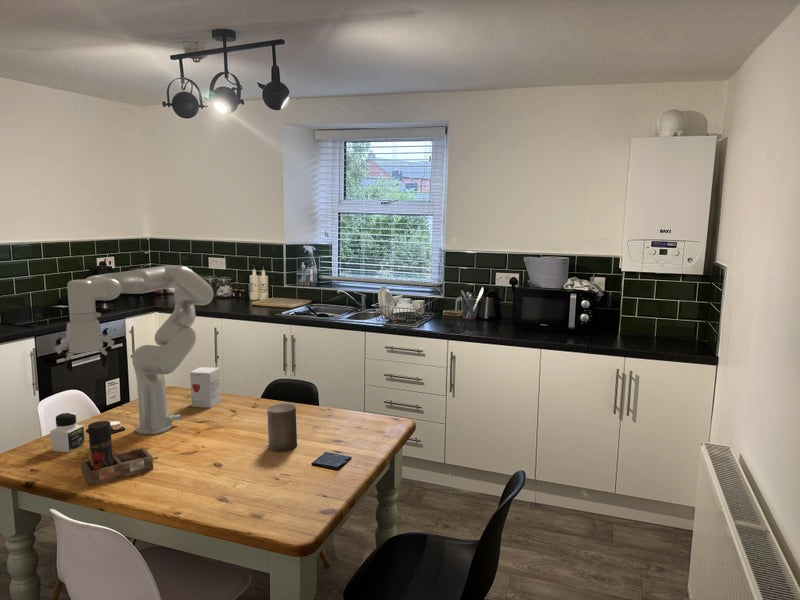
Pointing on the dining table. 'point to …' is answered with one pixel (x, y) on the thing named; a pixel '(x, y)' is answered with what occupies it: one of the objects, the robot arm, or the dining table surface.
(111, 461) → the deodorant
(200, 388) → the supplement box
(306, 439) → the dining table surface
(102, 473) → the divided compartment tray
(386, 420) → the dining table surface
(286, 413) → the pillar candle
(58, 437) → the medicine bottle
